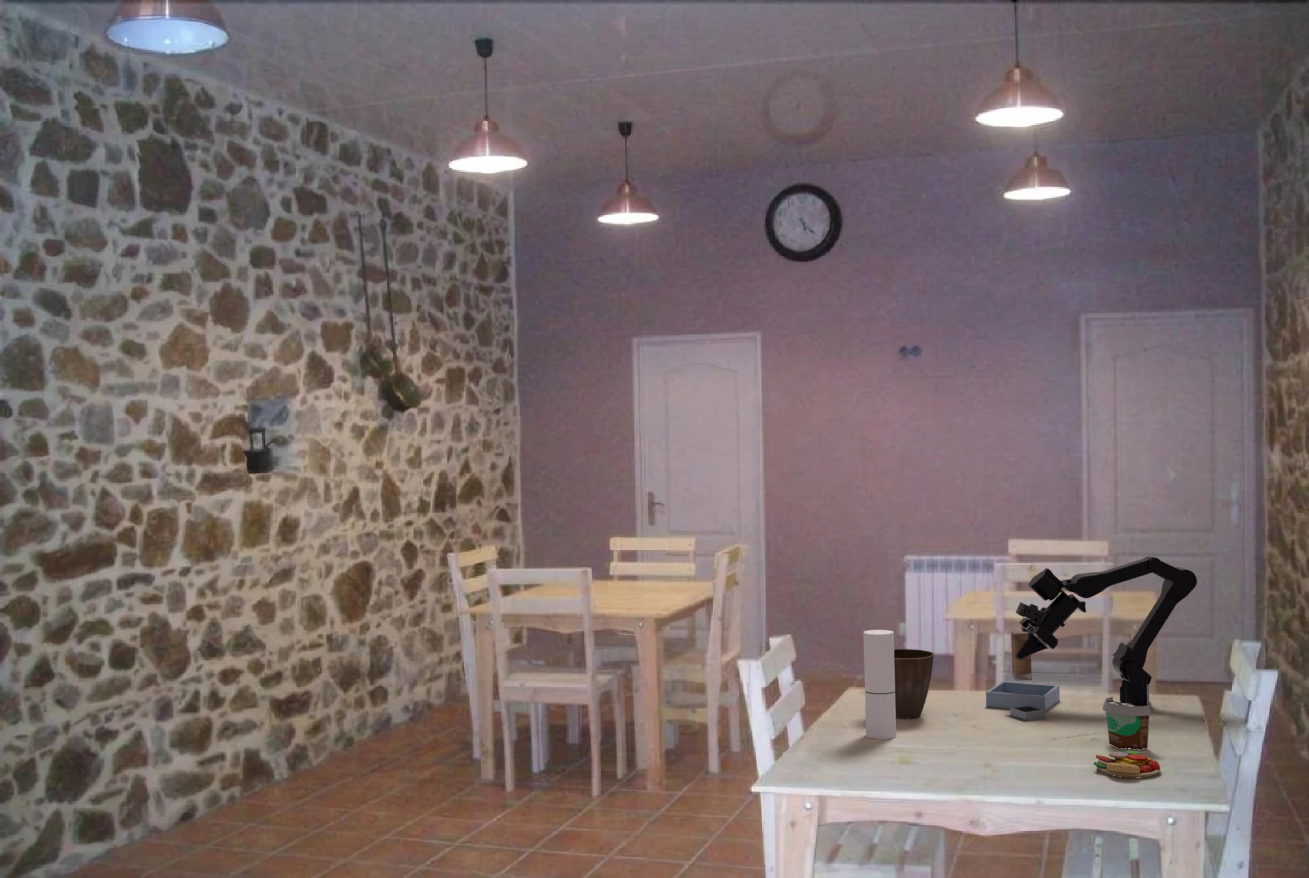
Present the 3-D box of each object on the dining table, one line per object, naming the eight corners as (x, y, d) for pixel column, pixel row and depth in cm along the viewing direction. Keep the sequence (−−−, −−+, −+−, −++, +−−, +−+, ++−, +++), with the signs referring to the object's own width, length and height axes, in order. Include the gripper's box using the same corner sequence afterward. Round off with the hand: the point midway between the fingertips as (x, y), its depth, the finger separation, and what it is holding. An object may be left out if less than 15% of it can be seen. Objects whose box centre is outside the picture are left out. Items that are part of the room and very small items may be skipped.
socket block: (1030, 714, 329) (1030, 704, 329) (1051, 720, 322) (1050, 710, 322) (1004, 717, 327) (1004, 707, 327) (1024, 724, 319) (1024, 713, 319)
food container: (1091, 742, 300) (1090, 699, 300) (1111, 739, 302) (1110, 696, 302) (1131, 753, 289) (1130, 709, 289) (1152, 750, 291) (1151, 706, 291)
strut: (1028, 677, 340) (1026, 631, 340) (1032, 680, 336) (1030, 634, 336) (1012, 677, 340) (1010, 632, 340) (1015, 680, 336) (1014, 634, 336)
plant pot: (866, 712, 337) (865, 650, 337) (918, 707, 341) (917, 646, 341) (892, 724, 323) (890, 660, 323) (946, 719, 327) (944, 656, 327)
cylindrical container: (894, 732, 315) (892, 629, 314) (897, 739, 307) (894, 634, 307) (865, 732, 315) (862, 629, 315) (867, 739, 308) (864, 634, 308)
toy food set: (1119, 783, 267) (1118, 767, 267) (1080, 767, 279) (1080, 752, 279) (1173, 776, 270) (1173, 761, 270) (1133, 761, 283) (1133, 746, 283)
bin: (1059, 702, 342) (1059, 685, 342) (1045, 714, 329) (1045, 696, 329) (1002, 697, 350) (1002, 681, 350) (986, 709, 337) (985, 691, 337)
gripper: (1026, 587, 347) (985, 629, 348) (1043, 596, 329) (1001, 641, 329) (1056, 615, 347) (1016, 657, 347) (1076, 626, 328) (1033, 671, 329)
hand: (1016, 656), depth 338 cm, fingers closed on strut, 4 cm apart
